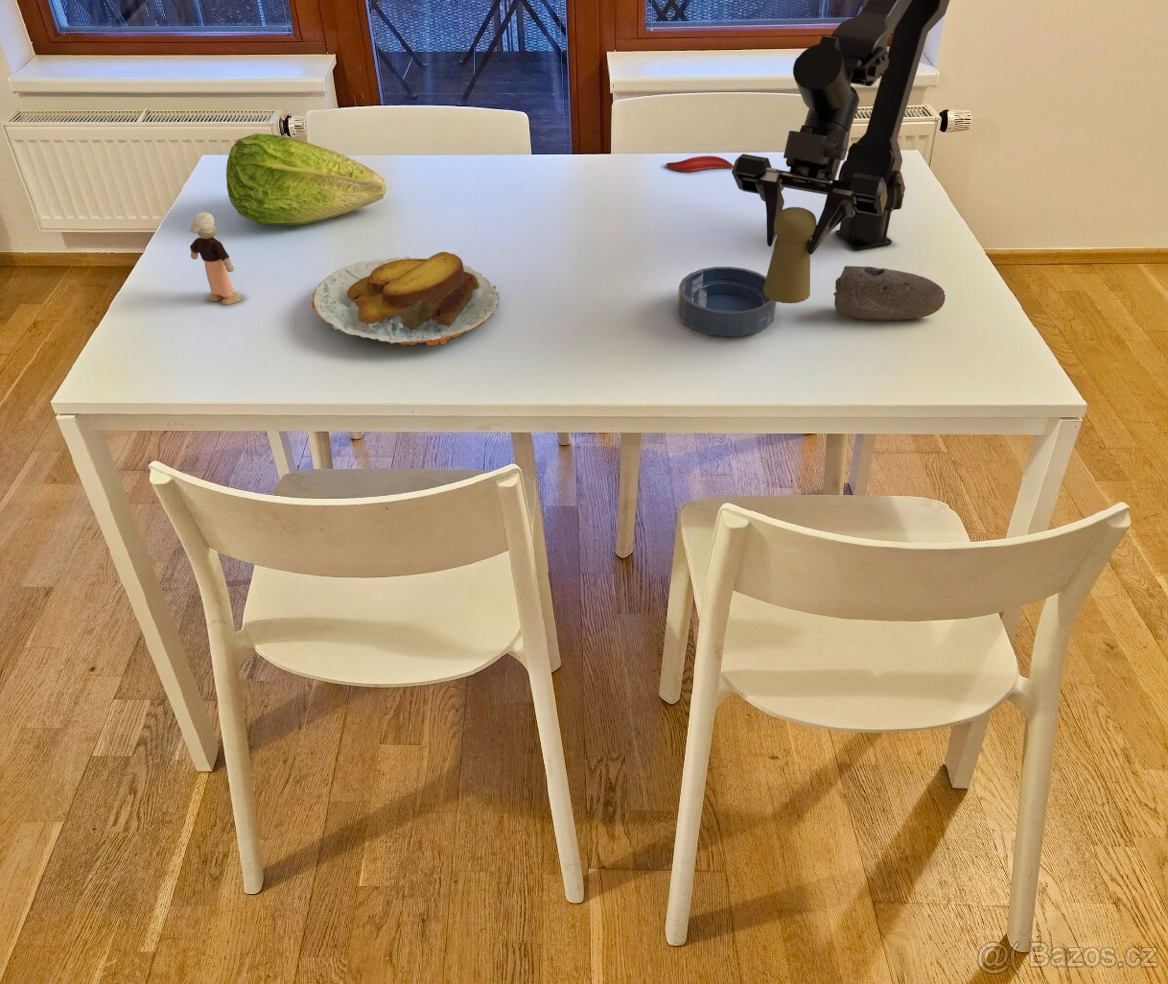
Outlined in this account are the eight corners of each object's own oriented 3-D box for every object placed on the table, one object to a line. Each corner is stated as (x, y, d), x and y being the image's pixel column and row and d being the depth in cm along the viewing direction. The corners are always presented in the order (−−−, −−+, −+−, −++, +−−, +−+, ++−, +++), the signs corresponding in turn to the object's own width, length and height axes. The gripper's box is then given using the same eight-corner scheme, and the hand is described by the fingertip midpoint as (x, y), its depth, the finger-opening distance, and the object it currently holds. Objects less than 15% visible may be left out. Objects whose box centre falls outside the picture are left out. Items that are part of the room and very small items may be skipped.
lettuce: (384, 241, 162) (385, 151, 156) (222, 229, 158) (217, 137, 152) (387, 220, 175) (388, 136, 169) (238, 209, 171) (234, 122, 165)
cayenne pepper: (663, 169, 181) (664, 159, 180) (667, 159, 184) (667, 149, 183) (732, 174, 179) (733, 163, 178) (734, 164, 182) (735, 153, 181)
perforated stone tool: (937, 310, 142) (948, 264, 138) (943, 330, 138) (954, 283, 134) (827, 304, 144) (834, 258, 139) (829, 323, 140) (837, 276, 135)
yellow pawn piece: (807, 306, 130) (818, 225, 123) (759, 299, 131) (768, 219, 124) (813, 283, 134) (824, 204, 127) (767, 277, 136) (776, 198, 129)
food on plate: (336, 269, 153) (329, 228, 149) (503, 269, 153) (501, 227, 148) (298, 360, 133) (289, 315, 129) (491, 360, 133) (488, 315, 129)
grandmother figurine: (253, 295, 147) (233, 211, 139) (238, 308, 144) (217, 223, 136) (207, 287, 149) (185, 204, 141) (191, 299, 146) (168, 215, 138)
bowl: (747, 285, 148) (750, 260, 145) (791, 329, 138) (795, 303, 136) (663, 301, 145) (664, 275, 142) (701, 347, 135) (704, 320, 132)
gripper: (743, 88, 124) (704, 210, 123) (898, 111, 117) (858, 240, 117) (758, 130, 134) (722, 243, 134) (902, 153, 128) (865, 272, 127)
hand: (788, 249), depth 128 cm, fingers closed on yellow pawn piece, 5 cm apart
